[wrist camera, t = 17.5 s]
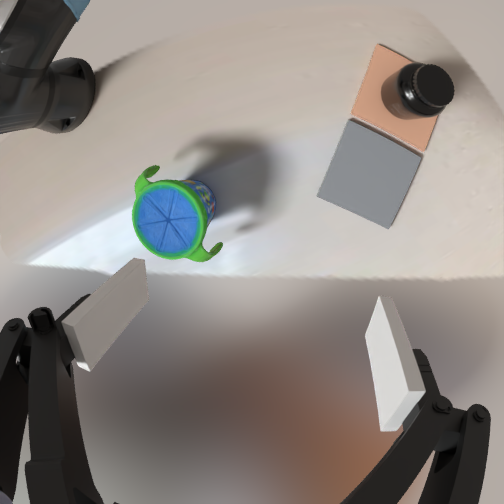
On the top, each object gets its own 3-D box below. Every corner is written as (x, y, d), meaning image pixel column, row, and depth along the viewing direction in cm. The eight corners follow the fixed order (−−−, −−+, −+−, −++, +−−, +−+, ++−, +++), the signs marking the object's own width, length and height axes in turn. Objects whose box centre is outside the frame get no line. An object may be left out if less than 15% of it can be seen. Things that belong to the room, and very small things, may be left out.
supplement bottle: (430, 111, 31) (471, 108, 21) (392, 126, 34) (425, 125, 23) (409, 68, 30) (444, 49, 19) (370, 82, 32) (395, 64, 21)
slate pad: (316, 195, 41) (316, 196, 40) (347, 120, 36) (348, 119, 35) (387, 227, 40) (388, 229, 40) (419, 157, 35) (421, 157, 35)
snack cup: (144, 180, 44) (108, 195, 35) (192, 142, 41) (161, 147, 32) (197, 257, 48) (172, 287, 39) (248, 227, 45) (232, 254, 35)
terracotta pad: (350, 113, 35) (351, 113, 34) (375, 45, 30) (377, 43, 29) (422, 151, 35) (424, 151, 34) (445, 84, 30) (447, 84, 29)
